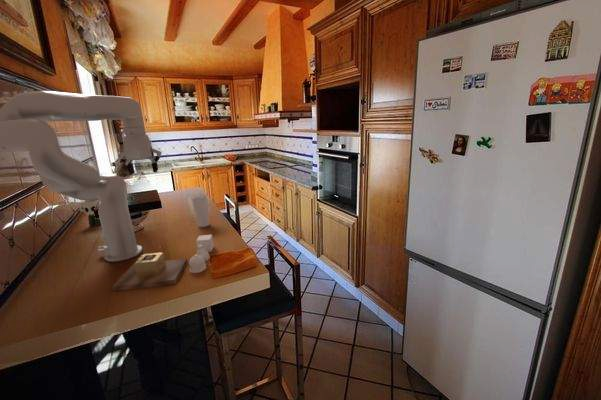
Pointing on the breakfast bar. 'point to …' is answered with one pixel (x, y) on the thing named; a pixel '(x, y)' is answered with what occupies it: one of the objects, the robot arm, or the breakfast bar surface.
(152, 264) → the brass collar
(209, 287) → the breakfast bar surface
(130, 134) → the robot arm
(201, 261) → the container set
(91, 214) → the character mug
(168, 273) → the post board
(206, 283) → the breakfast bar surface
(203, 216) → the drinking glass
